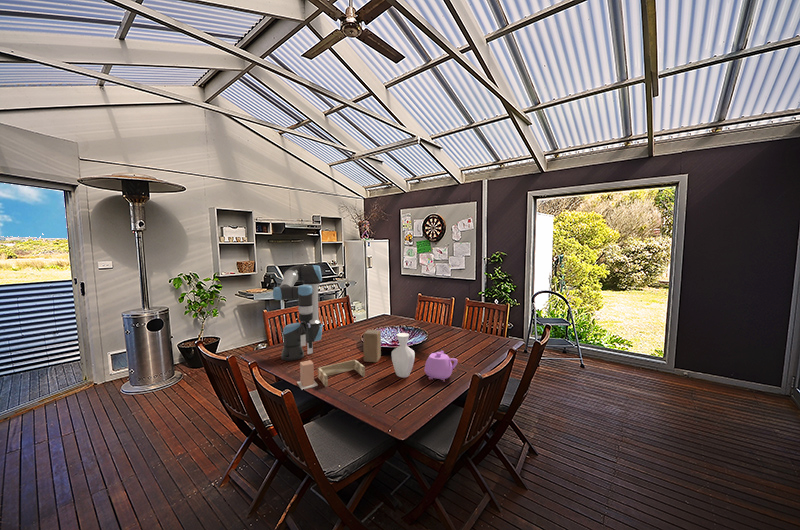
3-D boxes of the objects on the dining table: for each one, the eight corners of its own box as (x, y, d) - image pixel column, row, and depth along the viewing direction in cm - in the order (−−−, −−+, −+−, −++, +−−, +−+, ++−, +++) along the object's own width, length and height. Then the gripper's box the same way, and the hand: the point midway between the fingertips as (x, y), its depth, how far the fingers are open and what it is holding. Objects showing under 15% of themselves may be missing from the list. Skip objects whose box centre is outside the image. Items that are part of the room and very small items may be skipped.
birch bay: (317, 377, 180) (317, 367, 179) (355, 368, 193) (355, 359, 192) (325, 386, 168) (325, 376, 168) (364, 376, 181) (364, 366, 181)
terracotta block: (310, 379, 175) (310, 360, 174) (314, 384, 170) (313, 363, 169) (300, 382, 172) (299, 362, 171) (303, 386, 167) (302, 365, 166)
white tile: (297, 382, 173) (297, 381, 173) (312, 379, 178) (312, 378, 178) (301, 390, 164) (301, 388, 164) (317, 385, 169) (317, 384, 169)
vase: (388, 371, 188) (387, 332, 186) (408, 368, 193) (408, 330, 191) (396, 381, 175) (396, 339, 173) (418, 377, 180) (418, 336, 178)
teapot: (460, 371, 189) (460, 348, 188) (455, 385, 170) (455, 359, 169) (429, 367, 195) (429, 344, 194) (421, 380, 176) (421, 355, 175)
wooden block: (377, 363, 201) (377, 334, 200) (363, 361, 203) (362, 333, 202) (381, 357, 211) (381, 329, 210) (367, 356, 213) (367, 328, 212)
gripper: (293, 309, 176) (294, 344, 178) (305, 318, 155) (306, 358, 157) (306, 307, 180) (307, 341, 182) (319, 316, 160) (320, 355, 161)
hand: (306, 349), depth 170 cm, fingers open, 13 cm apart
